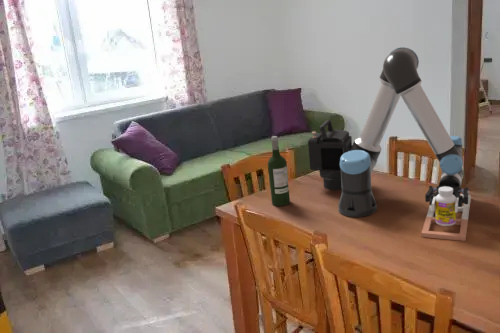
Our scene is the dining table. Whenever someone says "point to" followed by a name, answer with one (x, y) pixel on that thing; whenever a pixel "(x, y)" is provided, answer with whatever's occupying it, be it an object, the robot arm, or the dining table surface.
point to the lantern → (329, 153)
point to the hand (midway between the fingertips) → (444, 207)
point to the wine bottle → (278, 176)
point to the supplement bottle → (445, 207)
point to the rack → (462, 222)
